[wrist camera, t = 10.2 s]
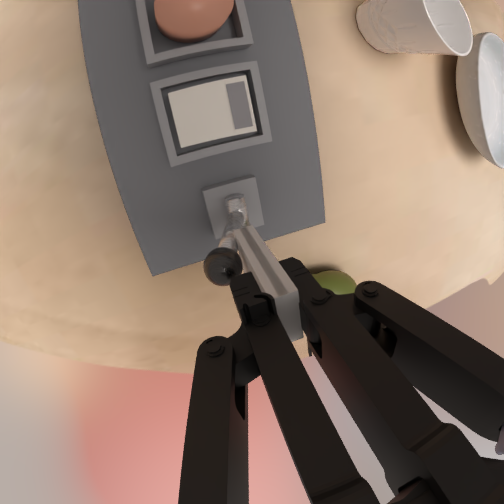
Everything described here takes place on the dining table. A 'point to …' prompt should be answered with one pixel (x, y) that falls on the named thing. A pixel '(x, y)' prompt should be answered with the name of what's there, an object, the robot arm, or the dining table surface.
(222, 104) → the rocker switch
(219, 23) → the terracotta button
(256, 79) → the switch panel
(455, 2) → the white cup
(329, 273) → the green rounded piece
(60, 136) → the dining table surface
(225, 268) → the toggle lever
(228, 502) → the robot arm
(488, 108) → the serving bowl
